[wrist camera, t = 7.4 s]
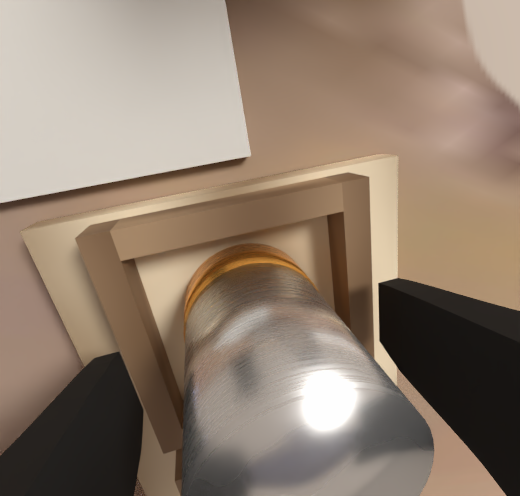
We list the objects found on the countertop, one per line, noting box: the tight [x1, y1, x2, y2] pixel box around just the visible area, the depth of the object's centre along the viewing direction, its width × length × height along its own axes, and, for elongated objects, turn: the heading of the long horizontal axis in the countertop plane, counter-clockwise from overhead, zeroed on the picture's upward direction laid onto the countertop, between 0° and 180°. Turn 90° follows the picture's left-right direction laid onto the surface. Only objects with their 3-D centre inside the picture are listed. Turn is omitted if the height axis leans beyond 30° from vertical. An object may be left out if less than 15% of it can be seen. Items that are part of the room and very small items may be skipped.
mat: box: [0, 0, 251, 203], centre depth 8 cm, size 8×6×1 cm
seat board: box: [20, 154, 398, 496], centre depth 12 cm, size 11×17×2 cm, turn 9°
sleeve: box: [181, 243, 434, 496], centre depth 7 cm, size 4×4×6 cm
